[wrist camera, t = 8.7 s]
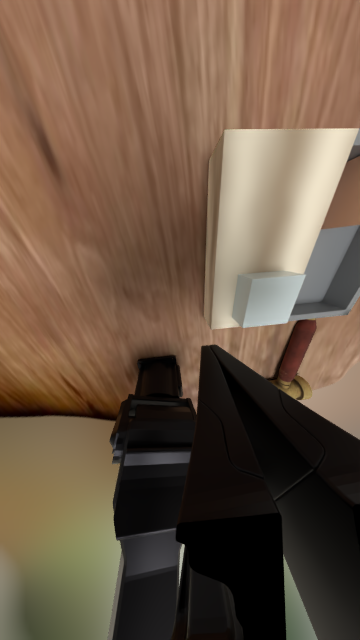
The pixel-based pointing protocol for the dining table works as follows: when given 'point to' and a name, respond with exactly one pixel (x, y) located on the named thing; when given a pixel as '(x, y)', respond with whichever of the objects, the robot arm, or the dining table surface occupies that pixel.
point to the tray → (331, 270)
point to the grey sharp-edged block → (265, 297)
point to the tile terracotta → (345, 199)
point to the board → (266, 205)
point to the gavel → (296, 361)
